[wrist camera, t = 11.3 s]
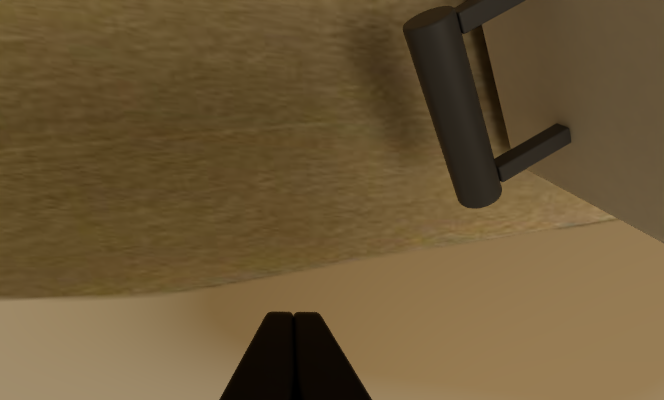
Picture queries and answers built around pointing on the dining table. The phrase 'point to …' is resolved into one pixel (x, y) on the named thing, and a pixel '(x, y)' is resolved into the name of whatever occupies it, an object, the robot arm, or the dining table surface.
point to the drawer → (553, 99)
